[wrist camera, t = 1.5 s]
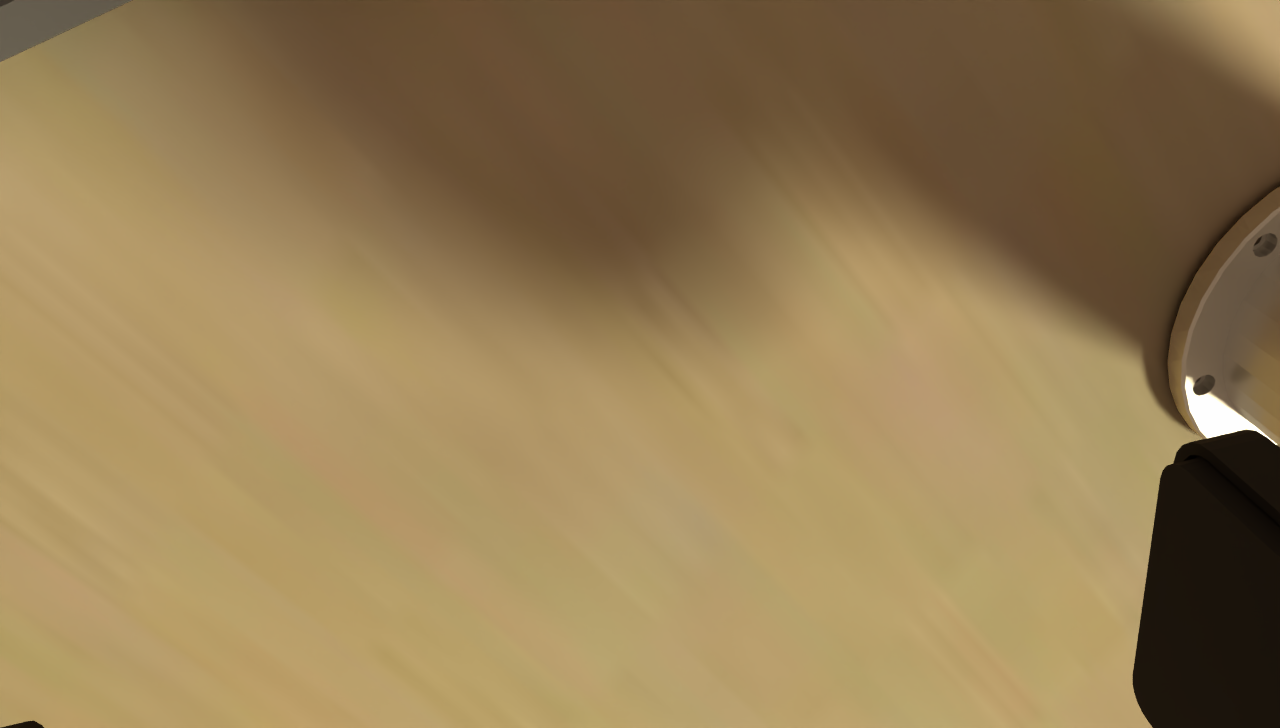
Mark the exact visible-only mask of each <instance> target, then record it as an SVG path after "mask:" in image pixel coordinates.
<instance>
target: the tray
mask: <svg viewBox="0 0 1280 728" xmlns="http://www.w3.org/2000/svg"><path fill="white" fill-rule="evenodd" d="M130 1H132V0H0V62H1V61H3V60H5V59H8V58H10V57H12V56H14V55H16V54H18V53H20V52H23V51H25V50H27V49H29V48H31V47H33V46H35V45H38V44H40V43H42V42H44V41H46V40H48V39H50V38H53V37H55V36H57V35H59V34H61V33H63V32H65V31H68V30H70V29H72V28H74V27H76V26H78V25H80V24H83V23H85V22H87V21H89V20H91V19H93V18H95V17H98V16H100V15H102V14H104V13H106V12H108V11H110V10H113V9H115V8H117V7H119V6H121V5H123V4H125V3H128V2H130Z"/></svg>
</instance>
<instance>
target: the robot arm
mask: <svg viewBox="0 0 1280 728" xmlns="http://www.w3.org/2000/svg"><path fill="white" fill-rule="evenodd" d="M1168 373H1169V385H1170V390H1171V393H1172V396H1173V398H1174V401H1175V404H1176V407H1177V410H1178V411H1179V413H1180V414H1181V415H1182V417H1183V418H1184V420H1185V421H1186V422H1187V424H1188V425H1189V427H1190V428H1191V429H1192V430H1193V431H1195V432H1196V433H1197V434H1198V435H1199V436H1200V437H1201V438H1203V439H1202V440H1198V441H1194V442H1190V443H1187V444H1184V445H1182V446H1181V448H1180V449H1179V450H1178V451H1177V453H1176V457H1175V460H1174V464H1171V465H1168V466H1166V467H1165V469H1164V470H1163V471H1162V475H1161V478H1160V485H1159V492H1158V499H1157V506H1156V513H1155V520H1154V527H1153V534H1152V542H1151V549H1150V556H1149V563H1148V570H1147V577H1146V584H1145V592H1144V599H1143V606H1142V613H1141V620H1140V627H1139V634H1138V641H1137V649H1136V656H1135V663H1134V670H1133V688H1134V693H1135V696H1136V699H1137V702H1138V704H1139V706H1140V708H1141V710H1142V712H1143V714H1144V716H1145V717H1146V719H1147V720H1148V722H1149V723H1150V724H1151V725H1152V727H1153V728H1280V187H1278V188H1277V189H1275V190H1273V191H1272V192H1271V193H1269V194H1268V195H1267V196H1266V197H1265V198H1263V199H1262V200H1261V201H1260V202H1259V203H1257V204H1256V205H1255V206H1254V207H1253V208H1251V209H1250V210H1249V211H1248V212H1247V213H1246V214H1244V215H1243V216H1242V217H1241V218H1240V219H1239V220H1238V221H1237V223H1236V224H1235V225H1234V226H1233V227H1232V228H1231V229H1230V230H1229V231H1228V232H1227V233H1226V234H1225V236H1224V237H1223V238H1222V239H1221V240H1220V241H1219V242H1218V243H1217V244H1216V246H1215V247H1214V249H1213V250H1212V252H1211V253H1210V254H1209V256H1208V257H1207V259H1206V260H1205V262H1204V263H1203V264H1202V266H1201V267H1200V269H1199V270H1198V272H1197V273H1196V275H1195V277H1194V279H1193V281H1192V283H1191V285H1190V287H1189V289H1188V291H1187V293H1186V295H1185V297H1184V299H1183V300H1182V302H1181V305H1180V308H1179V311H1178V314H1177V317H1176V320H1175V323H1174V327H1173V330H1172V333H1171V339H1170V347H1169V354H1168ZM2 728H44V727H43V726H42V725H41V724H39V723H37V722H35V721H28V722H23V723H18V724H14V725H10V726H6V727H2Z"/></svg>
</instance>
